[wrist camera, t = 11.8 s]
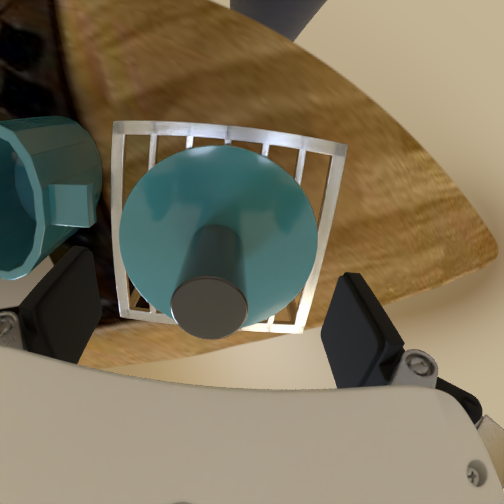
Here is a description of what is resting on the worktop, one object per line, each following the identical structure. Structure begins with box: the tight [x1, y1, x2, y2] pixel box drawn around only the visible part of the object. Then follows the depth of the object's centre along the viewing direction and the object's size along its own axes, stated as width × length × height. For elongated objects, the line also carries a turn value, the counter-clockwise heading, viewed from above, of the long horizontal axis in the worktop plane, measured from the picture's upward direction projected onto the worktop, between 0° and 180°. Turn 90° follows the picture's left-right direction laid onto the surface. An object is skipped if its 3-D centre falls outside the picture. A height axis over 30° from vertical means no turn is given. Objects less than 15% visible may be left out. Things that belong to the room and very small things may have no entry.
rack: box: [111, 120, 348, 333], centre depth 19 cm, size 13×13×6 cm
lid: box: [119, 145, 318, 339], centre depth 14 cm, size 11×11×7 cm
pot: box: [0, 116, 102, 280], centre depth 16 cm, size 10×16×8 cm, turn 83°
